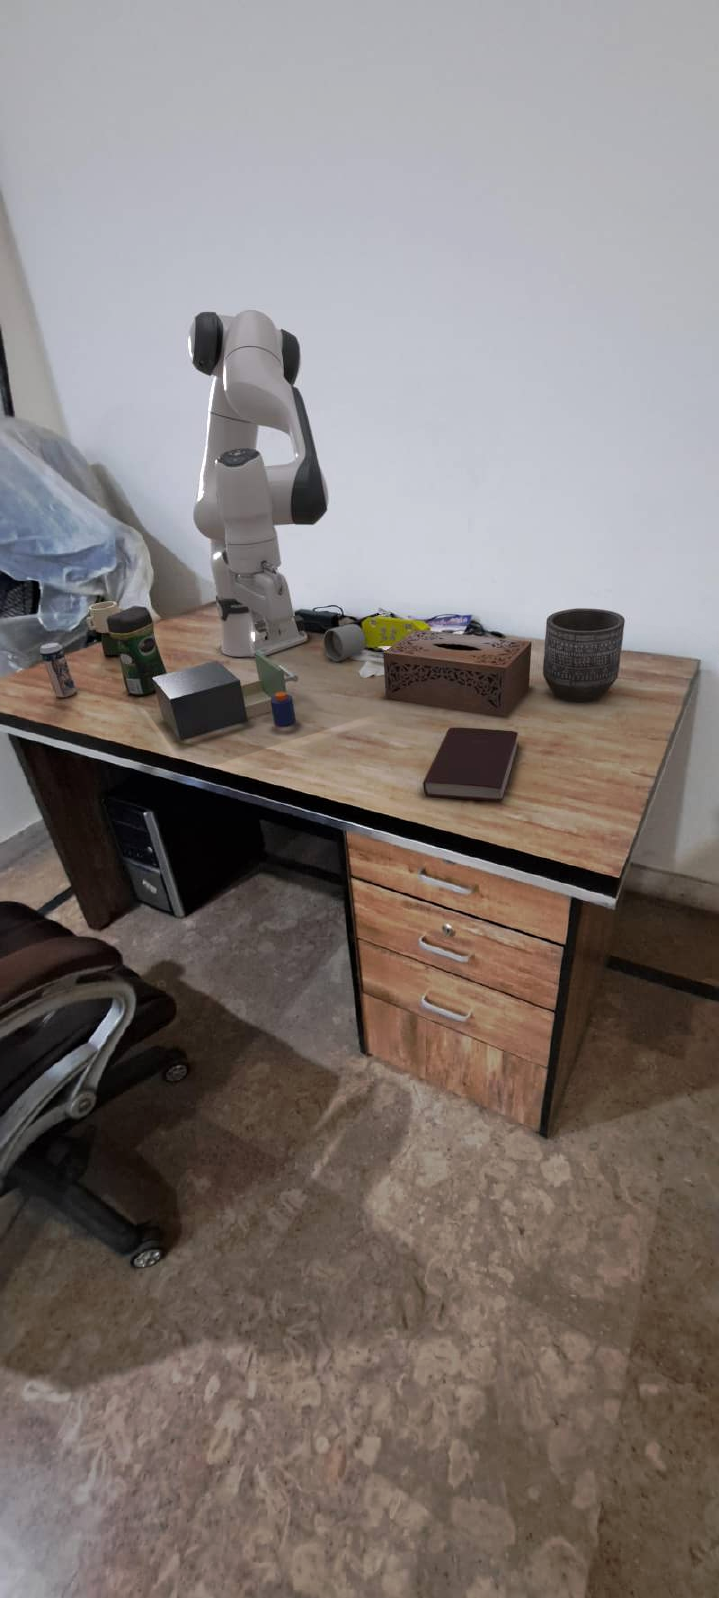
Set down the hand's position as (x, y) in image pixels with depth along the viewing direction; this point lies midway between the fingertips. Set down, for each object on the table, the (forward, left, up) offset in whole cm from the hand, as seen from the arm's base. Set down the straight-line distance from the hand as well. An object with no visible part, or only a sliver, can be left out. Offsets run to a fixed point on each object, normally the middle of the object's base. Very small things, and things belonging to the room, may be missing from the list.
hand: (267, 635), depth 122 cm
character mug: (+18, -71, -19) cm, 76 cm away
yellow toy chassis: (-40, -22, -19) cm, 50 cm away
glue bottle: (-1, 0, -19) cm, 19 cm away
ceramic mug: (-28, -28, -19) cm, 44 cm away
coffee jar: (+17, -40, -19) cm, 48 cm away
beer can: (+34, -50, -19) cm, 63 cm away
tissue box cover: (-36, +8, -19) cm, 42 cm away
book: (-20, +35, -19) cm, 45 cm away
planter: (-55, +23, -19) cm, 63 cm away
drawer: (+1, -12, -19) cm, 22 cm away
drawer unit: (+12, -12, -19) cm, 26 cm away
